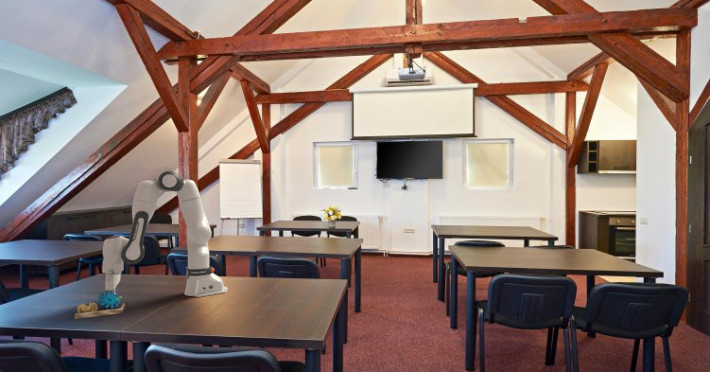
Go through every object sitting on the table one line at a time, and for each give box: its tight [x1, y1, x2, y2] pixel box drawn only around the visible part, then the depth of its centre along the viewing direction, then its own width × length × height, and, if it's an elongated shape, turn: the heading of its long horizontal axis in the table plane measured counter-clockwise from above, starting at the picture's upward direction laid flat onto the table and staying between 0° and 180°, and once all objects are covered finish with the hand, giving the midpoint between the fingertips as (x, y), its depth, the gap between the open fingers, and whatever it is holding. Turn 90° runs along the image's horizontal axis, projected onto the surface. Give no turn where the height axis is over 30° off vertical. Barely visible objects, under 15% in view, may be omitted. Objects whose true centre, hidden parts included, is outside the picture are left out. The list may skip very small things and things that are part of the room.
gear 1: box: [76, 301, 98, 313], centre depth 173 cm, size 7×7×4 cm
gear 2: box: [97, 290, 123, 310], centre depth 183 cm, size 11×6×10 cm
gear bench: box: [74, 302, 126, 320], centre depth 175 cm, size 18×12×2 cm
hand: (112, 295), depth 187 cm, fingers closed
